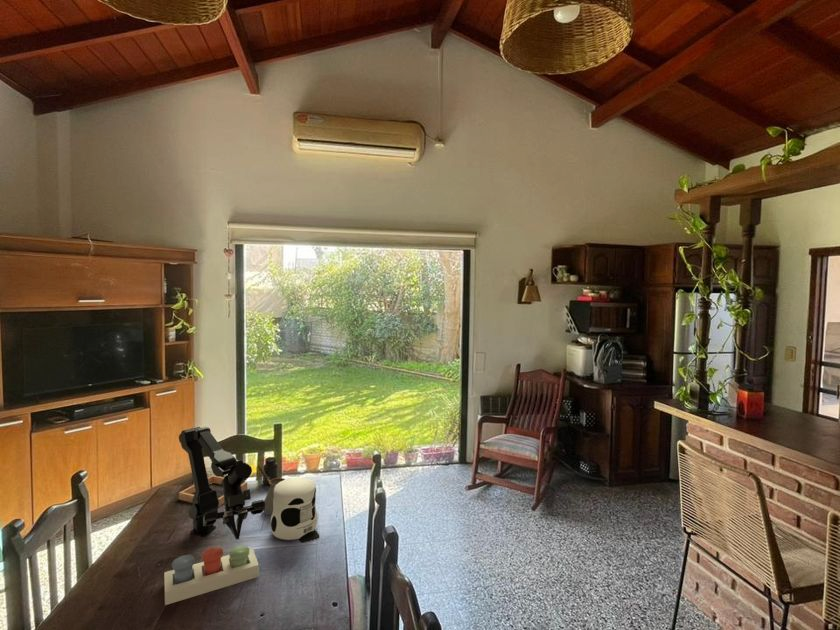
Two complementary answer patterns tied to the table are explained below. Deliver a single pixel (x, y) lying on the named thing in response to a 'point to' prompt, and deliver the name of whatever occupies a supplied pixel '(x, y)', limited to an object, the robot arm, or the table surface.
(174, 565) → the slate blue button
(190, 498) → the square wooden frame
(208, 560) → the red button
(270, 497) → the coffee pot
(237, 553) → the sage green button
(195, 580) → the button console
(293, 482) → the milk container
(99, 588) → the table surface
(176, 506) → the table surface
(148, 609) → the table surface
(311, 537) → the phone
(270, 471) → the supplement bottle
